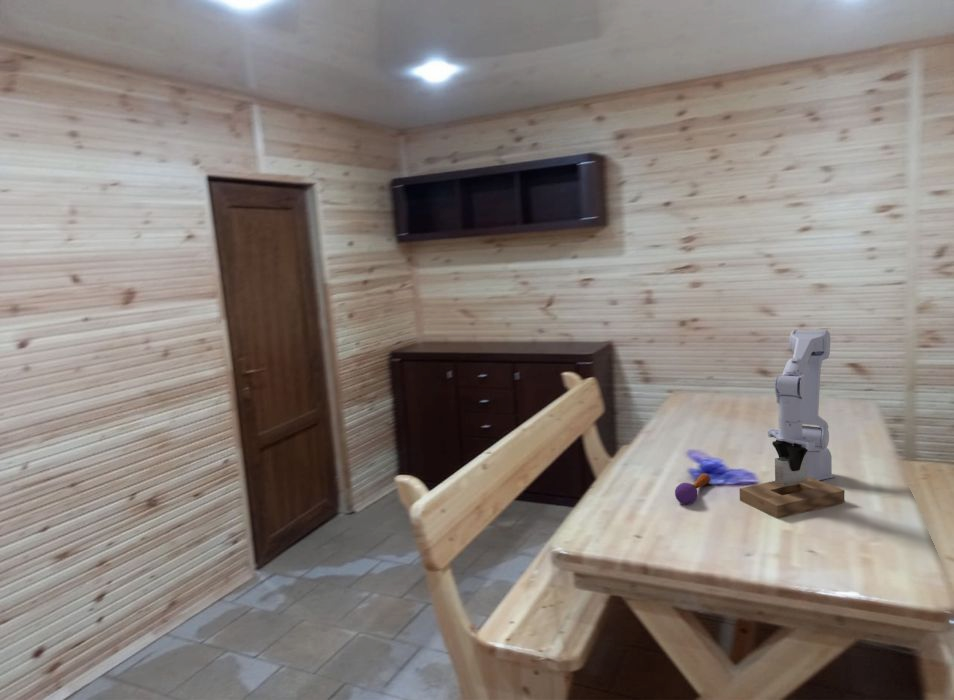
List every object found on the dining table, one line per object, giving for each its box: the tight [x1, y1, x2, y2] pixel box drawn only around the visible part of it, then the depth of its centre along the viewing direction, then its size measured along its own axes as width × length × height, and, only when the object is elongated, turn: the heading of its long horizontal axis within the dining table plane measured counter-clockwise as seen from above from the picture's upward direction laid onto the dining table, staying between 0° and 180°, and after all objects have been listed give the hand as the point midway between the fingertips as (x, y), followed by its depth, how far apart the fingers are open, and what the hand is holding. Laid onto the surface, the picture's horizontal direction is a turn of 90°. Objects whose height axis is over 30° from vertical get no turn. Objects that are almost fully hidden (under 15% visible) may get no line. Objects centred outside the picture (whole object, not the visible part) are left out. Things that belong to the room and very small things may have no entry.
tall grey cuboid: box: [774, 455, 807, 487], centre depth 172 cm, size 8×3×7 cm, turn 107°
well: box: [739, 476, 846, 520], centre depth 173 cm, size 22×14×4 cm, turn 107°
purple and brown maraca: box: [674, 473, 711, 506], centre depth 183 cm, size 6×6×20 cm
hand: (790, 468), depth 172 cm, fingers closed on tall grey cuboid, 3 cm apart
